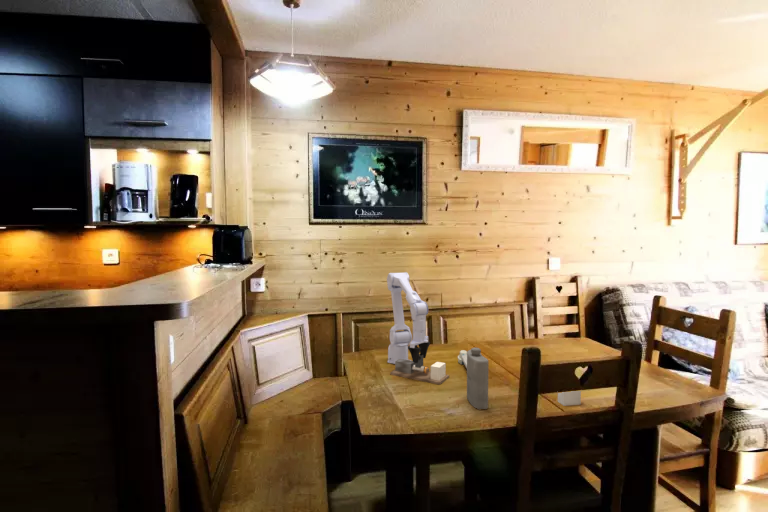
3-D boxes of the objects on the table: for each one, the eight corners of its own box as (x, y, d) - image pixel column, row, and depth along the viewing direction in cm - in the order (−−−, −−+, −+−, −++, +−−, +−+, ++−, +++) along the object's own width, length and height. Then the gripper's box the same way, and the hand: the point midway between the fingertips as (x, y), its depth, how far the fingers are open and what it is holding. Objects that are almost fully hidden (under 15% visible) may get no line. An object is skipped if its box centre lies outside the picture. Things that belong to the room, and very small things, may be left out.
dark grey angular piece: (397, 369, 177) (397, 352, 177) (401, 367, 180) (401, 350, 180) (426, 374, 170) (426, 357, 170) (429, 372, 173) (429, 355, 172)
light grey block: (580, 404, 144) (581, 377, 143) (563, 405, 143) (564, 378, 142) (574, 400, 147) (574, 374, 147) (557, 401, 146) (558, 375, 146)
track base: (390, 374, 176) (390, 362, 175) (401, 367, 184) (400, 356, 184) (440, 384, 163) (440, 372, 163) (449, 377, 172) (449, 365, 171)
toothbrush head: (469, 371, 168) (456, 347, 193) (469, 385, 170) (456, 359, 194) (481, 371, 169) (467, 346, 193) (481, 385, 170) (466, 359, 194)
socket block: (430, 379, 167) (430, 366, 167) (437, 374, 173) (437, 361, 173) (439, 380, 165) (439, 367, 165) (445, 375, 171) (445, 363, 171)
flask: (463, 393, 154) (464, 343, 153) (478, 393, 155) (478, 343, 154) (473, 410, 139) (473, 354, 138) (489, 409, 140) (490, 354, 139)
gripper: (420, 334, 164) (420, 366, 165) (434, 327, 177) (434, 357, 177) (405, 332, 168) (405, 363, 169) (420, 325, 180) (420, 354, 181)
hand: (419, 360), depth 173 cm, fingers open, 7 cm apart
